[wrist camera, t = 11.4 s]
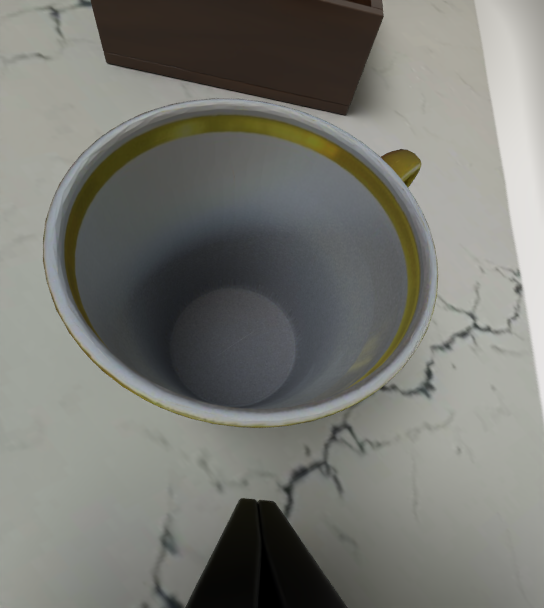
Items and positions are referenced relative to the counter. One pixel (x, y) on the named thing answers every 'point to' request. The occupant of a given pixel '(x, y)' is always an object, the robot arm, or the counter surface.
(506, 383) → the counter surface
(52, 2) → the counter surface
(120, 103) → the counter surface
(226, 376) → the ceramic cup
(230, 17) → the crate
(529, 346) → the counter surface
